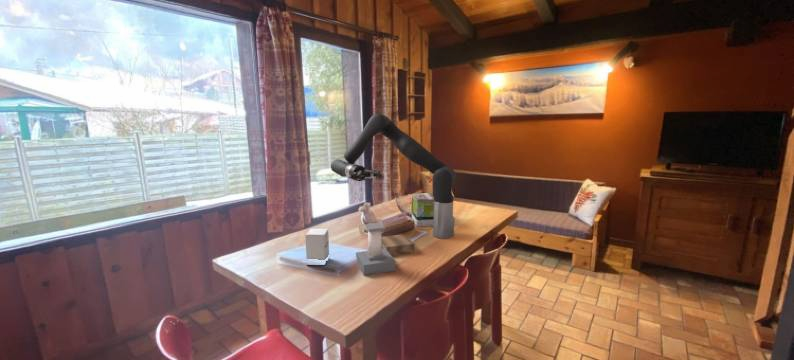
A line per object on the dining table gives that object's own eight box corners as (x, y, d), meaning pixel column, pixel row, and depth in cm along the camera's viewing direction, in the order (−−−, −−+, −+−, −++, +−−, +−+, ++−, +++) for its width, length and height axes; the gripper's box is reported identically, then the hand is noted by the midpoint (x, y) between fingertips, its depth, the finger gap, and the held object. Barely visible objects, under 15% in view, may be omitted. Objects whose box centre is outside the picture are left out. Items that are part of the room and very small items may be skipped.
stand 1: (385, 257, 131) (385, 248, 130) (395, 270, 120) (395, 260, 119) (356, 262, 127) (356, 252, 126) (363, 275, 116) (363, 265, 115)
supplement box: (325, 266, 123) (324, 234, 121) (306, 266, 123) (304, 234, 121) (329, 258, 130) (328, 228, 128) (311, 258, 131) (310, 228, 128)
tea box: (435, 225, 171) (435, 198, 168) (416, 226, 170) (416, 199, 167) (428, 217, 186) (429, 192, 183) (411, 218, 184) (411, 192, 182)
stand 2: (403, 242, 147) (403, 234, 147) (413, 252, 136) (413, 243, 136) (378, 245, 143) (378, 237, 143) (386, 256, 132) (386, 247, 132)
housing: (380, 252, 127) (380, 222, 124) (384, 258, 121) (384, 227, 119) (365, 254, 125) (364, 224, 122) (369, 260, 119) (368, 229, 117)
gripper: (341, 165, 152) (358, 170, 139) (368, 163, 160) (386, 167, 147) (342, 181, 153) (358, 187, 140) (368, 178, 161) (386, 183, 148)
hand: (372, 177), depth 143 cm, fingers open, 8 cm apart
